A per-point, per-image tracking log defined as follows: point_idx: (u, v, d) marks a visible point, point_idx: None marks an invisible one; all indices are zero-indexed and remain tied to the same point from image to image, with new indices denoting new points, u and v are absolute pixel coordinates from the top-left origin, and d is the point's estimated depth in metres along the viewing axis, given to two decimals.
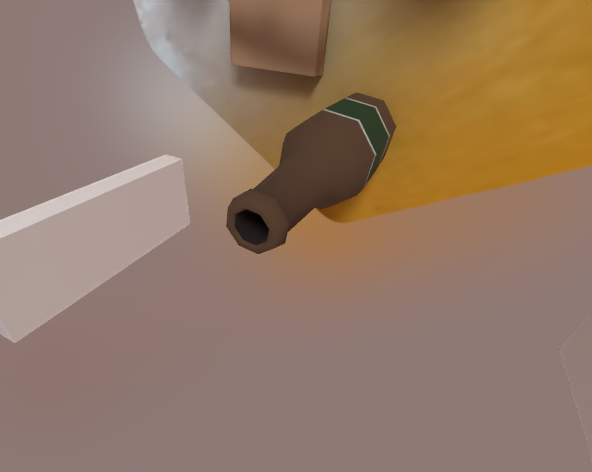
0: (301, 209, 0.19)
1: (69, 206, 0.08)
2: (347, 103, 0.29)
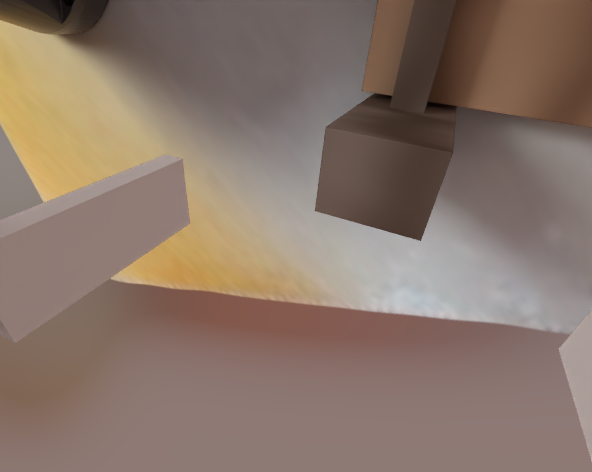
0: None
1: (69, 206, 0.08)
2: None
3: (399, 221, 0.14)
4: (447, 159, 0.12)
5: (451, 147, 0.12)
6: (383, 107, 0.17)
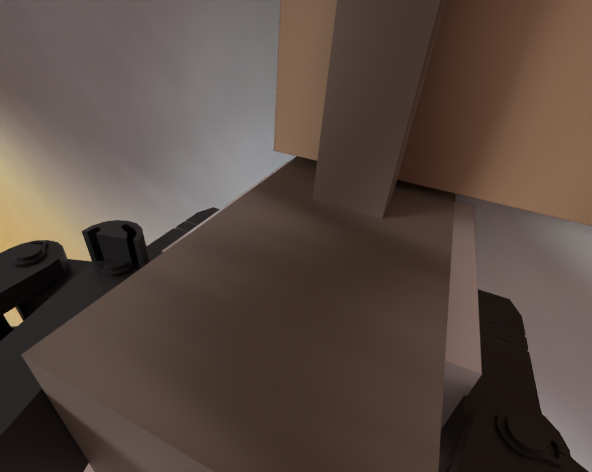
0: None
1: None
2: None
3: None
4: None
5: None
6: (298, 200, 0.08)
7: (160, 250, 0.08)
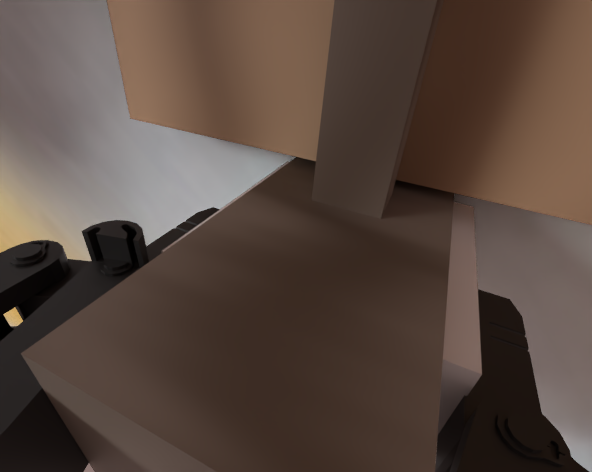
0: None
1: None
2: None
3: None
4: None
5: None
6: (297, 200, 0.08)
7: (160, 250, 0.08)
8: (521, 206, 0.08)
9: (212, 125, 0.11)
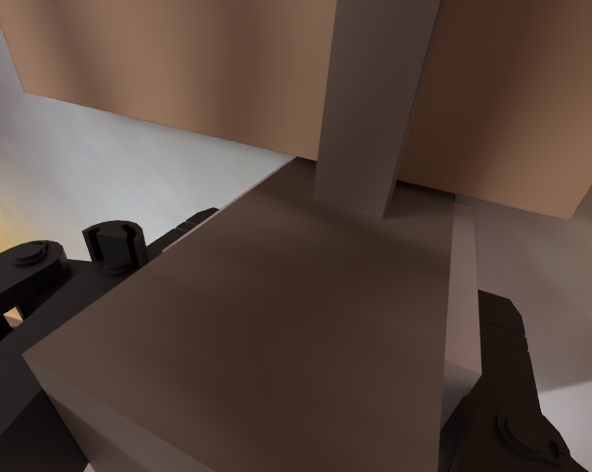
0: None
1: None
2: None
3: None
4: None
5: None
6: (298, 200, 0.08)
7: (160, 250, 0.08)
8: (304, 156, 0.10)
9: (83, 95, 0.12)
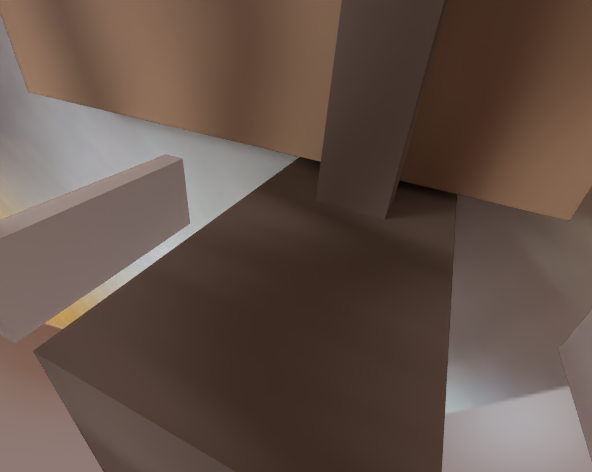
0: None
1: (69, 206, 0.08)
2: None
3: None
4: None
5: None
6: (301, 200, 0.08)
7: None
8: (306, 156, 0.10)
9: (87, 96, 0.13)
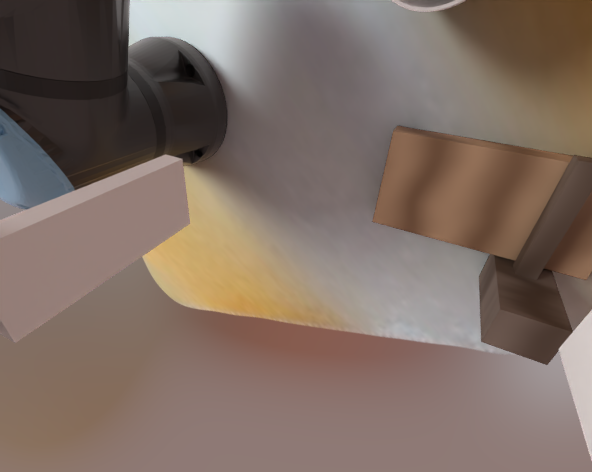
0: None
1: (69, 206, 0.08)
2: None
3: (535, 354, 0.27)
4: (569, 334, 0.25)
5: (569, 326, 0.25)
6: (511, 273, 0.30)
7: None
8: (501, 256, 0.32)
9: (407, 227, 0.35)
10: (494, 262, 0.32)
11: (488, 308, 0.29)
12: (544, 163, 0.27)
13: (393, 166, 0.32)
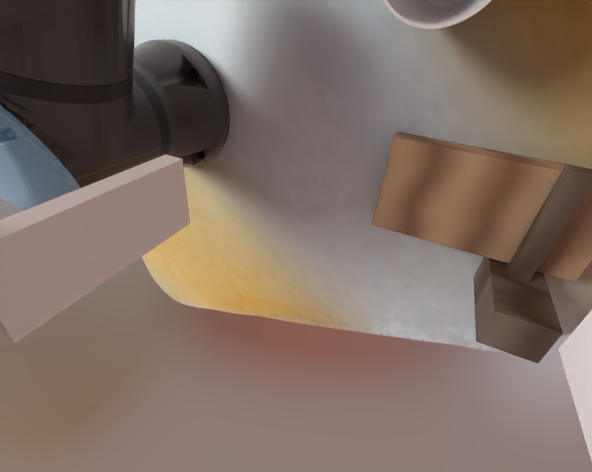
0: None
1: (69, 206, 0.08)
2: None
3: (527, 353, 0.28)
4: (559, 335, 0.26)
5: (559, 327, 0.26)
6: (505, 276, 0.31)
7: None
8: (496, 259, 0.33)
9: (405, 230, 0.36)
10: (489, 265, 0.33)
11: (483, 309, 0.30)
12: (538, 171, 0.28)
13: (393, 172, 0.33)
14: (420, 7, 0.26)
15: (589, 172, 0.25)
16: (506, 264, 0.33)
